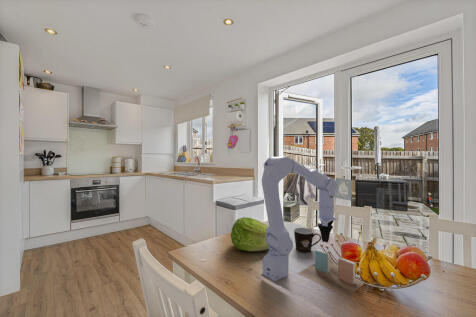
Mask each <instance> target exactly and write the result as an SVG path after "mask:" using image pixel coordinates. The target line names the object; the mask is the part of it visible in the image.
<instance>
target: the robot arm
mask: <svg viewBox="0 0 476 317" xmlns="http://www.w3.org/2000/svg"><path fill="white" fill-rule="evenodd" d="M262 165H263V173H262V177H261V187H262V192H263V199H264V204H265V209H266V216H267V217H266V218H267V220H268V221H267V223H268V226H269V227H268V228H267V229H266V238H265V240H266V243H267V244H268V248H269V249H268V251H267V254H265V255H264V256H263V258H262V273H261V274H260V277H261V276H262V277H263V278H264V279H266V280H267V281H270V282H271V283H272V284H274V285H276V286H279V283H277V280H280V279H282V278H286V277H288V275H289V260H290V259H289V256H290V253H292V250H293V247H294V241H293V239H291V235H290V232H289V231H288V229H287V228H286V226H285V223H284V216H283V212H282V211H283V210H282V205H281V204H282V203H281V198H280V191H279V187H278V185H279V183H280V182H281V181H282V180H283V179H285V178H286V177H287V176H288V175H289V174H291V173H294V174H297V175H299V176H301V177H303V178H305V182H306V183H308V184H310V185H312V186H315V187H316V189H317V190H318V216H317V217H318V220H319V221H320V222H317V227H318V229H319V232H320V236H321V242H323V243H329V240H330V234H331V231H332V229H333V228H334V225H333V223H334V221H337V219H338V218H337V216H334V212H335V210H334V209H335V205H334V204H335V203H334V202H335V195H336V191H337V190H338V184H337V180H335V178H333V177H328V176H327V174H325V173H321V172H319V169H317V168H312V169H308V168H306V167H305V166H303V164H300V163H299V162H297V161H295V159H293V158H290V157H288V156H270V157H268V158H267V159H266V160H265V162H264V163H263V164H262ZM275 281H276V282H275Z"/></svg>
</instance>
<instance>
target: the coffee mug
mask: <svg viewBox="0 0 476 317" xmlns="http://www.w3.org/2000/svg"><path fill="white" fill-rule="evenodd" d="M293 232H294V242H295V249H296V251H297V252H298V253H303V254H307V253H311V252H312V247H313V246H315V245H317V244H318V243H319V242H320V241H322V238H321V234H319V233H316V232H315V233H314V230H312V229H311V228H307V227H296V228H294V229H293ZM315 236H318V237H319V239H318V240H317V241H315V242H314V243H313V240H314V237H315Z"/></svg>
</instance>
